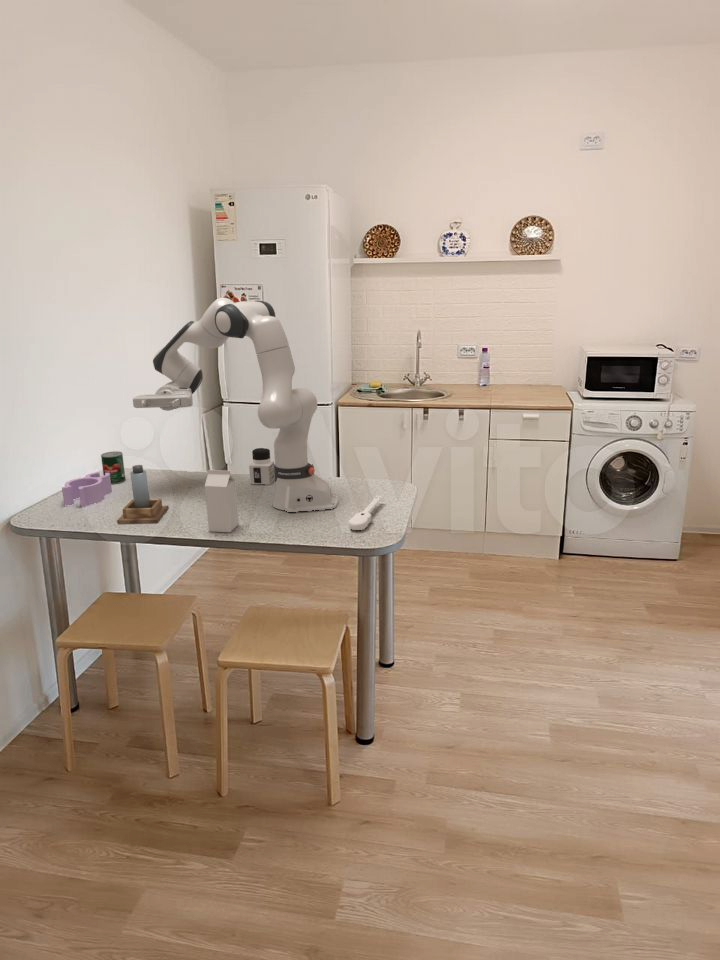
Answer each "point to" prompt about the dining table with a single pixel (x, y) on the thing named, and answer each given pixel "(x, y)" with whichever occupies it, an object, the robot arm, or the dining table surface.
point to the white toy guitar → (363, 516)
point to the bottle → (140, 487)
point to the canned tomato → (114, 466)
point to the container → (261, 467)
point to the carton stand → (143, 513)
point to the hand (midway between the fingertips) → (157, 405)
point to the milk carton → (221, 501)
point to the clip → (87, 489)
